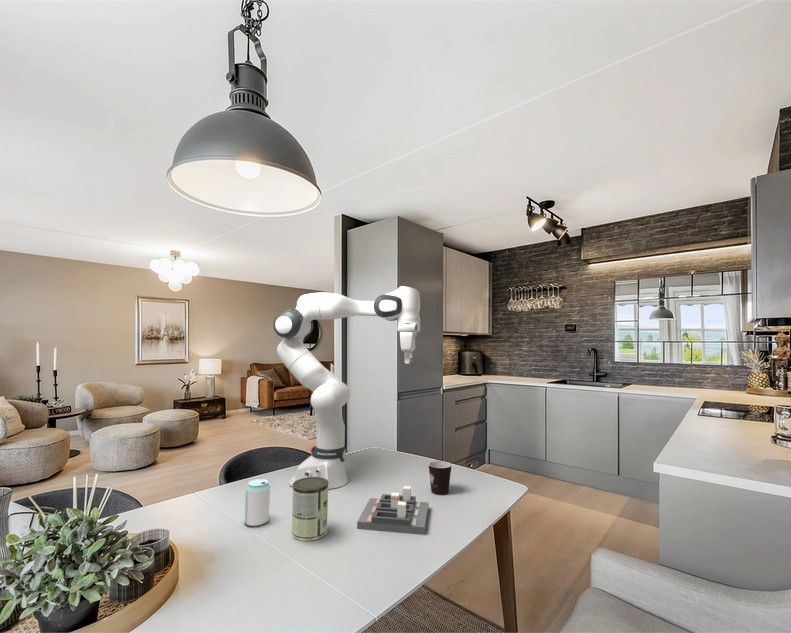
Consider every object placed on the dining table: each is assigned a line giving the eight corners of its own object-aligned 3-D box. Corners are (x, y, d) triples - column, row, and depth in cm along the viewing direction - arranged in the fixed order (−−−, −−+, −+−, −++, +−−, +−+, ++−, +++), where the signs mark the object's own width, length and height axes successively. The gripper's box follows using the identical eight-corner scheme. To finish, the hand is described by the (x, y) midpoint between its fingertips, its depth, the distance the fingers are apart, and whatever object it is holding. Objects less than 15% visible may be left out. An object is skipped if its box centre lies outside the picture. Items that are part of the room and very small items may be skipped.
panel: (357, 528, 116) (357, 516, 116) (370, 503, 134) (370, 493, 134) (424, 534, 113) (424, 521, 113) (428, 508, 131) (428, 497, 131)
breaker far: (402, 504, 128) (403, 488, 129) (403, 501, 131) (403, 485, 131) (410, 504, 128) (410, 488, 128) (410, 501, 130) (411, 486, 131)
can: (262, 515, 124) (263, 476, 125) (272, 522, 119) (274, 482, 120) (240, 521, 119) (242, 481, 120) (250, 530, 114) (252, 487, 115)
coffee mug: (452, 496, 141) (452, 468, 142) (429, 496, 141) (429, 467, 142) (449, 484, 153) (449, 458, 153) (427, 484, 153) (427, 458, 153)
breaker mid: (390, 511, 122) (390, 495, 123) (391, 508, 125) (391, 492, 125) (398, 512, 122) (398, 496, 122) (399, 509, 124) (399, 493, 125)
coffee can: (292, 525, 117) (294, 477, 118) (327, 523, 119) (328, 475, 120) (289, 542, 107) (291, 490, 108) (327, 540, 109) (328, 488, 110)
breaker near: (397, 521, 115) (397, 504, 116) (398, 518, 118) (398, 501, 118) (405, 522, 115) (405, 505, 115) (406, 518, 117) (406, 501, 118)
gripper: (403, 328, 163) (403, 361, 162) (397, 326, 143) (397, 364, 142) (418, 328, 162) (418, 361, 161) (414, 326, 142) (414, 364, 141)
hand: (408, 362), depth 151 cm, fingers open, 8 cm apart
